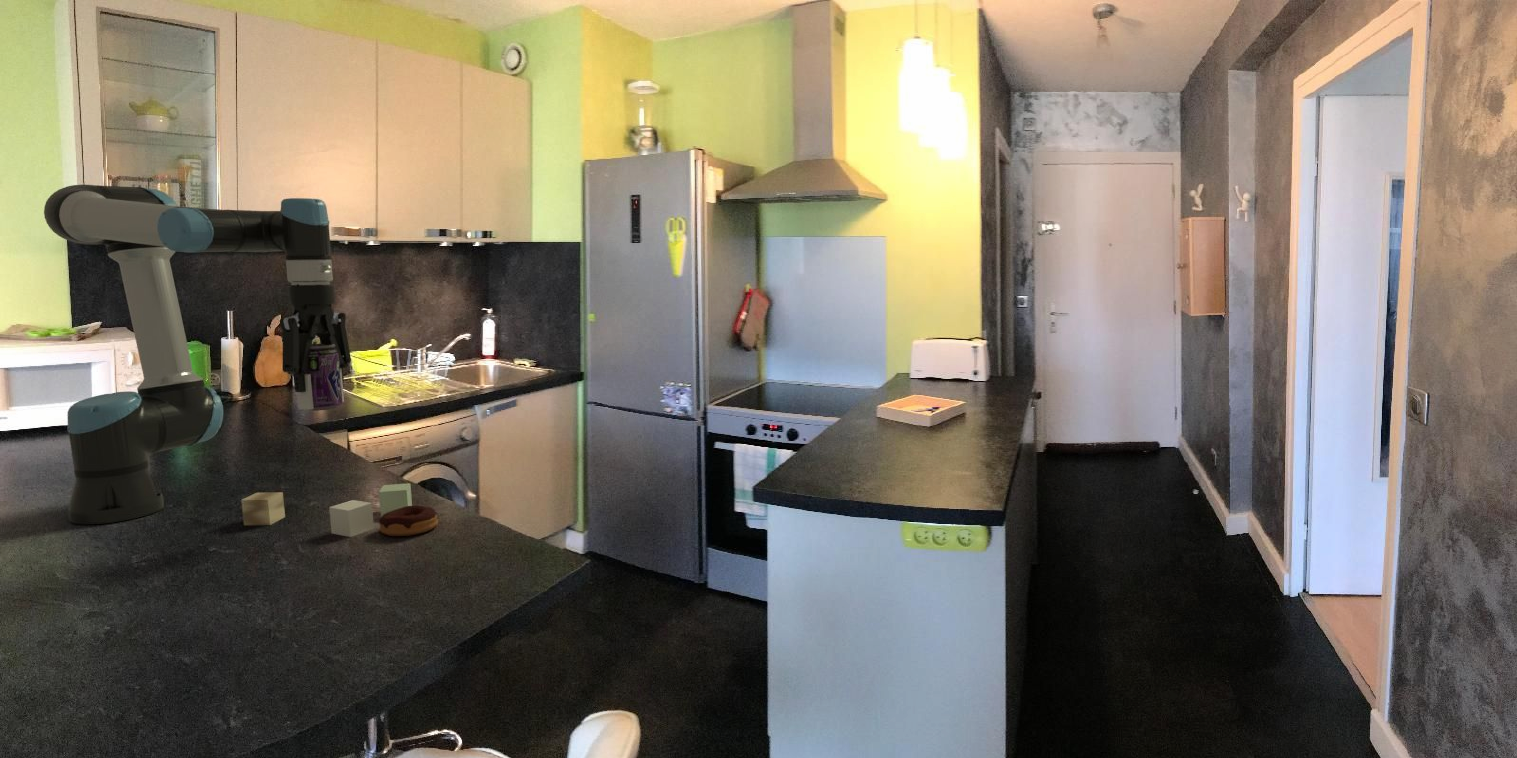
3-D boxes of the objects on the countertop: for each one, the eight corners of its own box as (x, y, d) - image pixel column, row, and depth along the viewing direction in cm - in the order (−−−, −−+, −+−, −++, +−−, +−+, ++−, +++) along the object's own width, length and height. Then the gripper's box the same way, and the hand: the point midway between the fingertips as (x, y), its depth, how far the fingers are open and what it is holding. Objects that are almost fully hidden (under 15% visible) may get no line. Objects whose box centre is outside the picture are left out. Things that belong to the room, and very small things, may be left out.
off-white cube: (331, 533, 156) (329, 507, 155) (355, 525, 161) (352, 500, 160) (350, 537, 154) (348, 510, 153) (373, 529, 158) (371, 503, 158)
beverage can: (325, 412, 158) (320, 347, 157) (292, 411, 160) (286, 347, 158) (351, 405, 165) (346, 343, 163) (318, 404, 167) (313, 343, 165)
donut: (425, 518, 165) (423, 498, 164) (448, 530, 158) (446, 509, 157) (371, 531, 158) (369, 510, 157) (392, 543, 151) (391, 521, 150)
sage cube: (380, 517, 166) (378, 492, 165) (385, 509, 171) (383, 485, 170) (408, 514, 167) (406, 490, 166) (412, 507, 172) (410, 483, 171)
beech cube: (244, 525, 161) (241, 500, 161) (259, 517, 166) (257, 492, 166) (270, 525, 161) (267, 499, 161) (285, 517, 166) (282, 492, 166)
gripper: (284, 285, 148) (296, 416, 152) (366, 281, 167) (375, 397, 171) (249, 285, 150) (262, 414, 154) (334, 281, 169) (343, 395, 173)
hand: (321, 405), depth 162 cm, fingers closed on beverage can, 7 cm apart
